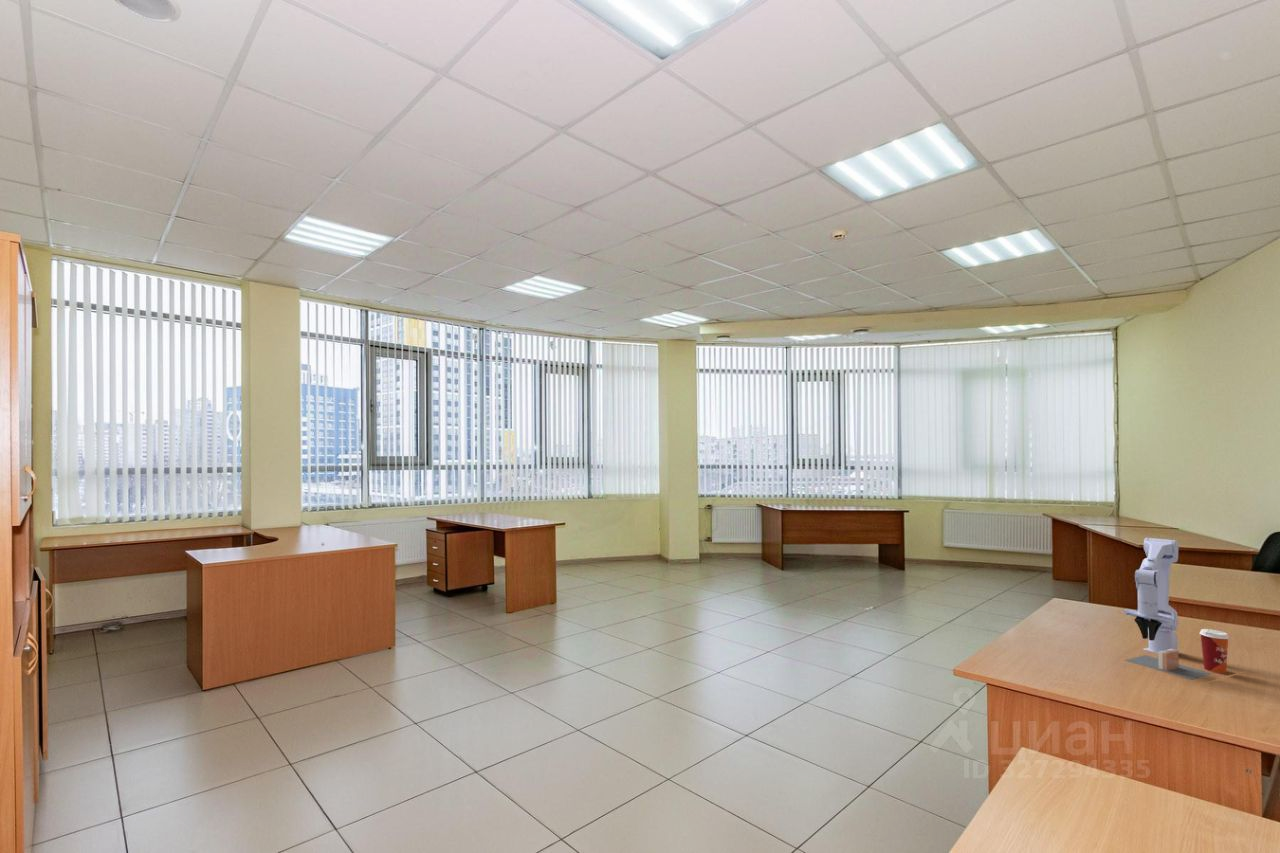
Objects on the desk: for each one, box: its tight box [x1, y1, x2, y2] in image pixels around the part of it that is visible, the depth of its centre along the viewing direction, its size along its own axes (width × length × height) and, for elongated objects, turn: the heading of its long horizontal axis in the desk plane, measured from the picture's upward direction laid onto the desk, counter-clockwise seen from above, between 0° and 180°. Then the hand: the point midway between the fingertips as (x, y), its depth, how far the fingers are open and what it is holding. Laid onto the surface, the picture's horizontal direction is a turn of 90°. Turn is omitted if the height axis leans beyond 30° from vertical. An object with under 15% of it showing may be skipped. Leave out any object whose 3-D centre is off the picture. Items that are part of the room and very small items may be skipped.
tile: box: [1157, 649, 1180, 671], centre depth 213 cm, size 8×2×6 cm, turn 114°
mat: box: [1124, 654, 1213, 681], centre depth 214 cm, size 14×20×1 cm
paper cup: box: [1199, 628, 1230, 674], centre depth 212 cm, size 8×8×14 cm
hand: (1148, 639), depth 219 cm, fingers closed
